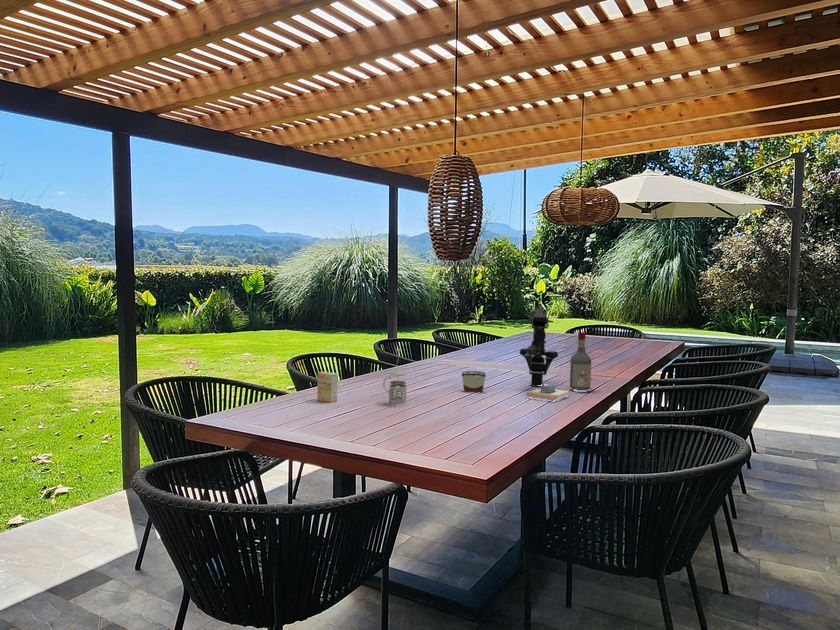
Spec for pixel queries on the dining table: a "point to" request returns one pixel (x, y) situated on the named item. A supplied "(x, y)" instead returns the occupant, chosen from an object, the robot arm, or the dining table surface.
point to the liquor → (580, 366)
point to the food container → (473, 381)
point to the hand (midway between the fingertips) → (538, 370)
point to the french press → (397, 388)
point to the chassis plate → (557, 392)
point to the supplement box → (327, 386)
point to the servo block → (547, 388)
